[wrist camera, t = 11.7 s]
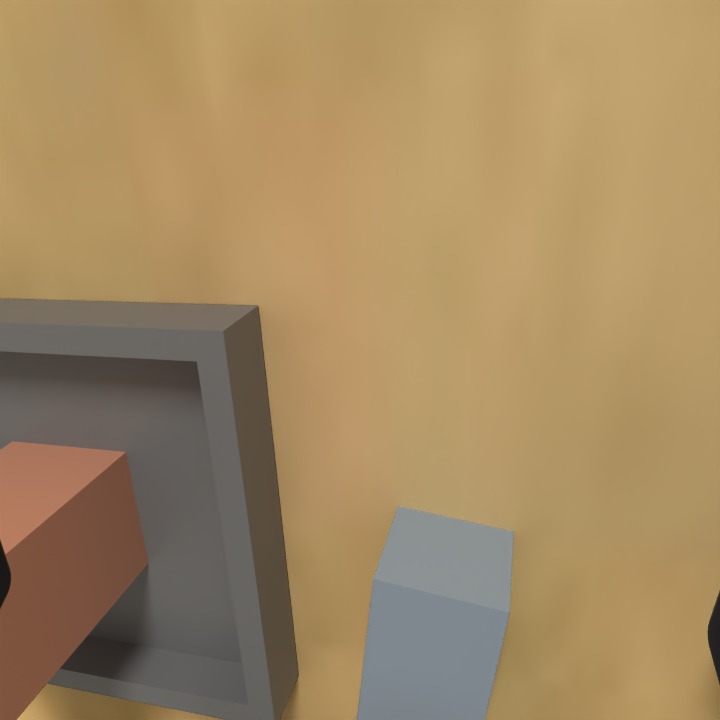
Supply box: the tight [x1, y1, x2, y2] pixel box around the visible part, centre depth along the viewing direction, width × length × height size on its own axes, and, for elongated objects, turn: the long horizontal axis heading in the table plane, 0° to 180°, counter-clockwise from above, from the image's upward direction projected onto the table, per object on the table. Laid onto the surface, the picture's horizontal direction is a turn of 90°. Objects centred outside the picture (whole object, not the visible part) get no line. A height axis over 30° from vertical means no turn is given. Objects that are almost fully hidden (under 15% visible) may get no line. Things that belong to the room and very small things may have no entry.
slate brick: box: [357, 506, 514, 720], centre depth 22 cm, size 8×4×4 cm, turn 175°
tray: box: [0, 299, 299, 720], centre depth 25 cm, size 16×16×3 cm
